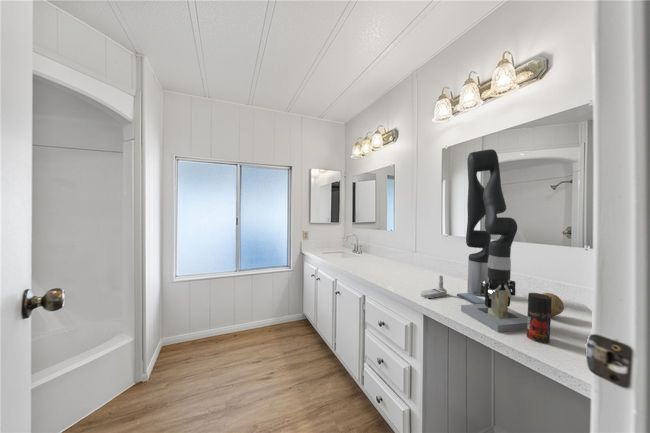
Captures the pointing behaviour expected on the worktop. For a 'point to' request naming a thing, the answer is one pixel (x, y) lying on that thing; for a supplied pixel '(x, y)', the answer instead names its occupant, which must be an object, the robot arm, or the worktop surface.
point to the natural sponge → (555, 304)
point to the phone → (471, 298)
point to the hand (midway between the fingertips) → (497, 306)
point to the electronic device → (435, 290)
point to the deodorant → (539, 317)
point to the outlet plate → (500, 325)
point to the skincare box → (499, 305)
